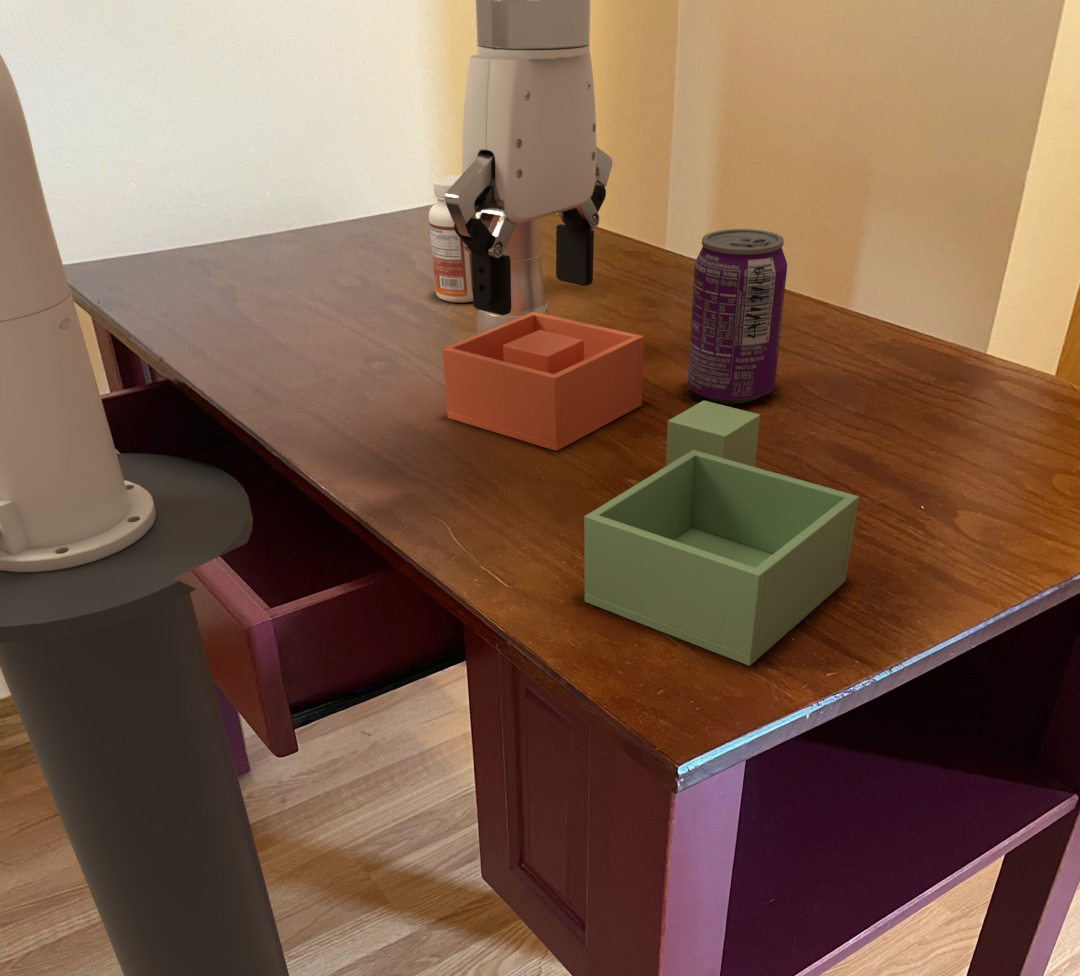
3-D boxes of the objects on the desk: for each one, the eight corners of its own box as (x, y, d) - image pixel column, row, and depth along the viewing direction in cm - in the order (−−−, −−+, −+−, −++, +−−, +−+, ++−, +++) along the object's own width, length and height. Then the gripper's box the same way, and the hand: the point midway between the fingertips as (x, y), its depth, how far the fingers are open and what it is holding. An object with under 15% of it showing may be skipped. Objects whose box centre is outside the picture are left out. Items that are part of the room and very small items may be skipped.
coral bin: (556, 451, 81) (555, 378, 78) (447, 418, 87) (441, 348, 84) (642, 405, 88) (644, 335, 85) (535, 377, 94) (533, 311, 91)
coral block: (549, 419, 85) (547, 356, 82) (505, 407, 87) (502, 344, 84) (584, 402, 87) (584, 339, 84) (541, 390, 90) (539, 329, 87)
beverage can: (783, 383, 91) (800, 231, 84) (760, 414, 86) (776, 254, 79) (702, 373, 94) (712, 224, 86) (675, 402, 88) (683, 246, 81)
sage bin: (749, 666, 58) (759, 575, 55) (584, 602, 64) (583, 516, 61) (845, 581, 65) (859, 496, 62) (688, 530, 71) (692, 449, 67)
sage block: (719, 506, 73) (725, 436, 70) (664, 489, 76) (667, 420, 73) (753, 482, 76) (760, 414, 73) (699, 467, 78) (703, 400, 75)
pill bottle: (487, 284, 117) (481, 170, 110) (500, 300, 112) (494, 182, 105) (430, 290, 115) (420, 175, 109) (441, 306, 111) (431, 188, 104)
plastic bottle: (527, 376, 94) (518, 115, 82) (463, 364, 97) (445, 110, 85) (565, 354, 98) (561, 103, 86) (502, 343, 101) (490, 98, 89)
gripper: (568, 17, 79) (566, 265, 89) (399, 35, 68) (418, 314, 78) (654, 22, 75) (641, 280, 85) (489, 42, 64) (497, 334, 75)
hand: (534, 296), depth 82 cm, fingers open, 9 cm apart
